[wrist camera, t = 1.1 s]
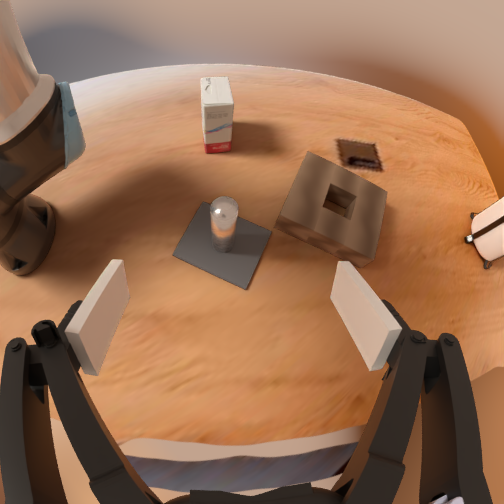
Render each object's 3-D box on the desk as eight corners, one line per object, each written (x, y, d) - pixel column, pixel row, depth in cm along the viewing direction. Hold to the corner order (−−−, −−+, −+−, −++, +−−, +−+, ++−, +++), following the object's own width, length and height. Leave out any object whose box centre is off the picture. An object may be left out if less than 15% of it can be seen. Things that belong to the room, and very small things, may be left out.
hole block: (273, 227, 43) (279, 214, 39) (300, 165, 48) (307, 150, 44) (360, 268, 43) (373, 260, 38) (375, 203, 47) (387, 191, 43)
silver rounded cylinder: (208, 247, 40) (205, 214, 30) (218, 229, 41) (218, 192, 31) (227, 256, 40) (231, 225, 30) (236, 238, 41) (243, 202, 31)
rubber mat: (172, 255, 40) (172, 254, 39) (203, 202, 43) (203, 201, 43) (245, 289, 39) (245, 289, 39) (271, 232, 43) (271, 231, 42)
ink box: (231, 151, 47) (235, 104, 36) (204, 154, 46) (202, 106, 35) (225, 120, 50) (229, 74, 39) (201, 122, 49) (200, 76, 38)
